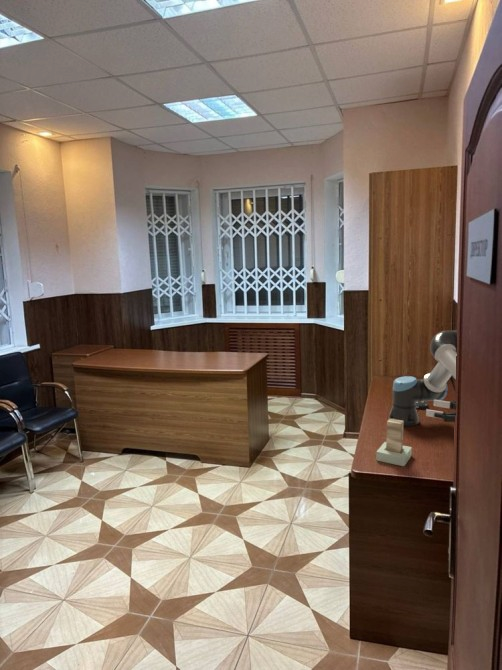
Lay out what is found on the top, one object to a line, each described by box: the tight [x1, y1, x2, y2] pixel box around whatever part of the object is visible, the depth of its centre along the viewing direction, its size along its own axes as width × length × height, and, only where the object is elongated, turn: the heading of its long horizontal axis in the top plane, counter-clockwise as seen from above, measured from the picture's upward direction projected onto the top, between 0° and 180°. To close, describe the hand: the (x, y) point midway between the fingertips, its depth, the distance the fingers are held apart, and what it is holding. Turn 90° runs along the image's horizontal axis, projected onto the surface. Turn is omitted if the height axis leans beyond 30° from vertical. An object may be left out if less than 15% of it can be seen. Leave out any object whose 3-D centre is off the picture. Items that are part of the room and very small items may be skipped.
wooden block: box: [385, 418, 404, 453], centre depth 204 cm, size 4×6×16 cm, turn 57°
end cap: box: [375, 441, 413, 467], centre depth 205 cm, size 12×12×4 cm
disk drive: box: [416, 401, 430, 410], centre depth 272 cm, size 10×3×15 cm
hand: (430, 407), depth 198 cm, fingers open, 13 cm apart
